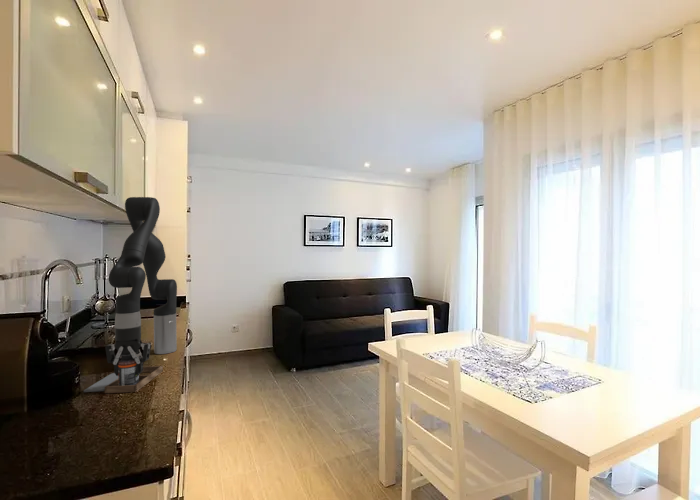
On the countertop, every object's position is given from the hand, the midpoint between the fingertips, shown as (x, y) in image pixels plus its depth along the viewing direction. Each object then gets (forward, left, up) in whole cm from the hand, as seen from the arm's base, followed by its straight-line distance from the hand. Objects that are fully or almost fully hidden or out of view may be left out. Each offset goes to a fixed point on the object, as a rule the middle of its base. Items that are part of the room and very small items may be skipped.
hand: (128, 374), depth 119 cm
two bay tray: (-5, 0, -4) cm, 6 cm away
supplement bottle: (0, 0, -4) cm, 4 cm away
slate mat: (-5, -9, -4) cm, 11 cm away
